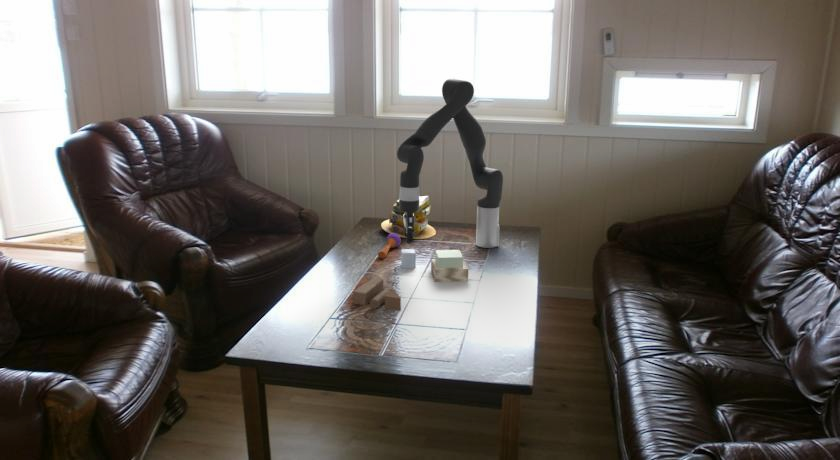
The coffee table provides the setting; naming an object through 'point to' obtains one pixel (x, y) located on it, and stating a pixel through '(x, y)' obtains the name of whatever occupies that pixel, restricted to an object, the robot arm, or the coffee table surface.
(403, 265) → the blue block
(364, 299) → the wooden block set
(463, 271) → the tower base
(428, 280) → the coffee table surface
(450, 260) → the tower top
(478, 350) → the coffee table surface
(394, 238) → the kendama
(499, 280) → the coffee table surface
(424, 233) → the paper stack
